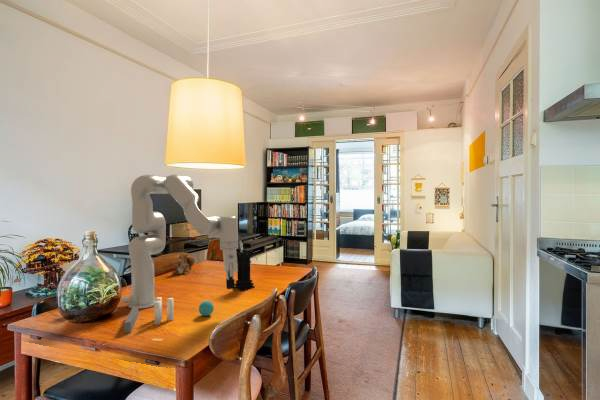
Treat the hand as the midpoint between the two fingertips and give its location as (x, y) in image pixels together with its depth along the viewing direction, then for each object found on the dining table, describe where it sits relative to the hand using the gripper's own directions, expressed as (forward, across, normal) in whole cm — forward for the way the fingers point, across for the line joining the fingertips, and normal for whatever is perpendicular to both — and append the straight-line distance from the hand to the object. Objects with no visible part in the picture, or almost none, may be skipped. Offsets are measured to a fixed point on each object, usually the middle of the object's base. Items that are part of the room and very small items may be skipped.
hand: (230, 288), depth 140 cm
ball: (+7, 0, +10) cm, 12 cm away
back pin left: (+10, +3, +29) cm, 31 cm away
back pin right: (+10, -2, +29) cm, 30 cm away
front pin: (+10, 0, +24) cm, 26 cm away
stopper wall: (+10, 0, +38) cm, 39 cm away
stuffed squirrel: (+9, +85, +21) cm, 88 cm away
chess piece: (+10, +36, -11) cm, 39 cm away
